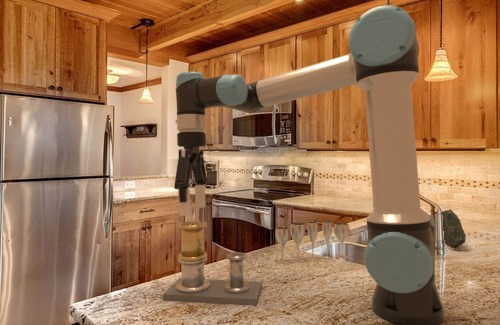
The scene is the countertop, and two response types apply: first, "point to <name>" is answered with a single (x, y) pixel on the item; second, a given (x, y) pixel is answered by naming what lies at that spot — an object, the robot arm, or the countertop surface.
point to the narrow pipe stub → (236, 274)
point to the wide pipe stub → (192, 277)
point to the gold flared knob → (192, 241)
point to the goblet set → (311, 237)
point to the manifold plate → (217, 294)
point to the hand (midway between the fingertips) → (193, 211)
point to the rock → (452, 229)
